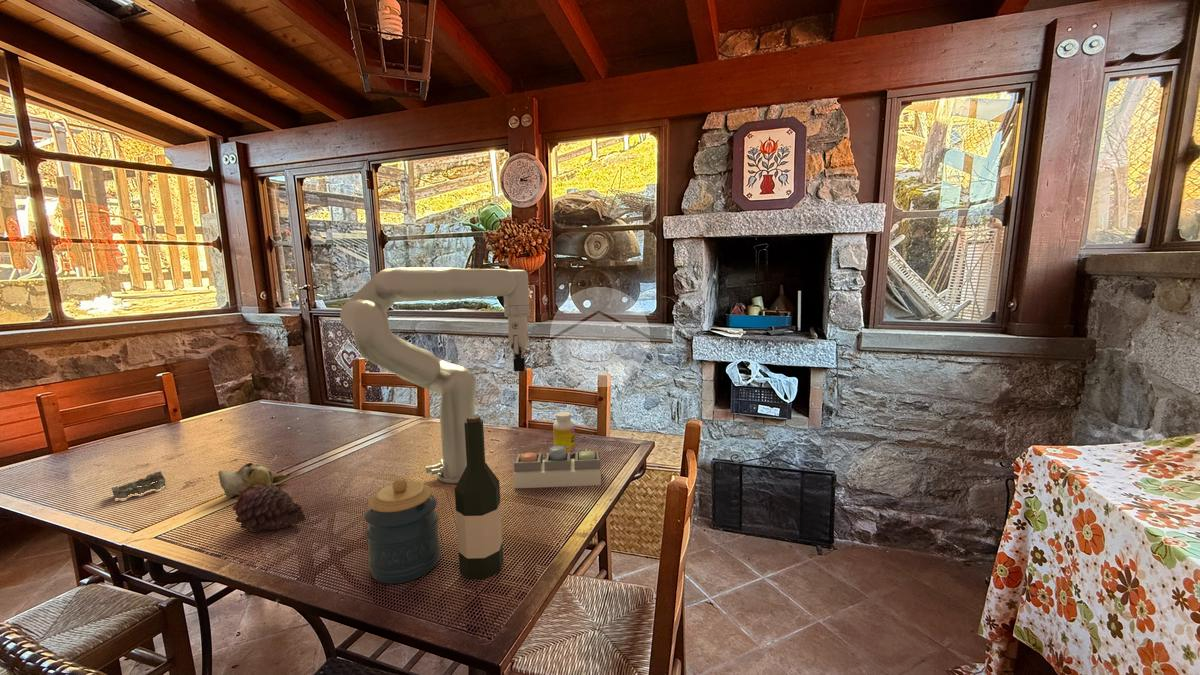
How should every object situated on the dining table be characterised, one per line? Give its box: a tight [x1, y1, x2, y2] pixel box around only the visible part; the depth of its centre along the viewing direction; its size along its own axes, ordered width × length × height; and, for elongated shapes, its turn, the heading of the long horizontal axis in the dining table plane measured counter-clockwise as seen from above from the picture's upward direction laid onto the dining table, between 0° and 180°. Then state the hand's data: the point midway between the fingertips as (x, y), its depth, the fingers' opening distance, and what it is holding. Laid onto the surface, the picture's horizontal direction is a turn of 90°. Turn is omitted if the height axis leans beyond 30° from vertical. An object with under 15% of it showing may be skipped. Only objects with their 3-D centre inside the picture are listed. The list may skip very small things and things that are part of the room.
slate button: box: [549, 445, 566, 461], centre depth 129 cm, size 4×4×3 cm
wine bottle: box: [454, 414, 504, 580], centre depth 89 cm, size 8×8×30 cm
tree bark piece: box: [111, 471, 167, 499], centre depth 126 cm, size 10×7×4 cm
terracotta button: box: [520, 452, 537, 462], centre depth 129 cm, size 4×4×3 cm
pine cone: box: [232, 485, 306, 532], centre depth 107 cm, size 18×10×10 cm
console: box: [513, 450, 602, 489], centre depth 129 cm, size 23×9×6 cm, turn 92°
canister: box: [364, 477, 441, 585], centre depth 91 cm, size 13×13×18 cm
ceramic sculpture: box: [218, 462, 292, 499], centre depth 125 cm, size 11×9×15 cm
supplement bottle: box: [552, 411, 576, 456], centre depth 148 cm, size 7×7×13 cm
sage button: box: [579, 450, 595, 460], centre depth 129 cm, size 4×4×3 cm
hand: (519, 370), depth 144 cm, fingers closed
